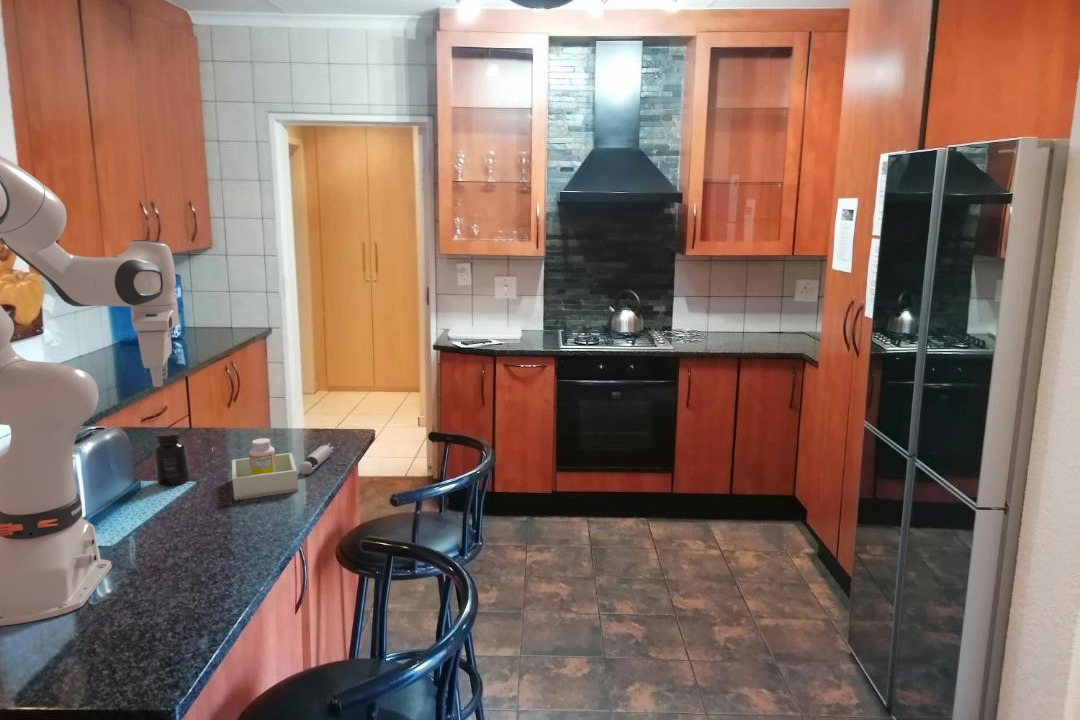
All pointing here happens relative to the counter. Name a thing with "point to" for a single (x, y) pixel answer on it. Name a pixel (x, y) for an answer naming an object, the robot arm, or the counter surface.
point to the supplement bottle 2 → (262, 457)
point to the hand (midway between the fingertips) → (160, 382)
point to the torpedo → (315, 459)
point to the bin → (264, 478)
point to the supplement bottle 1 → (171, 459)
